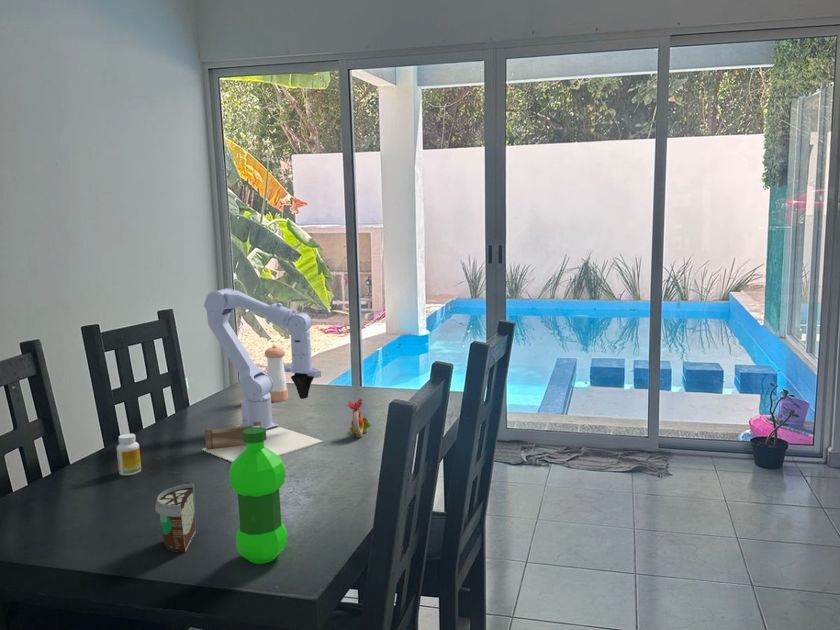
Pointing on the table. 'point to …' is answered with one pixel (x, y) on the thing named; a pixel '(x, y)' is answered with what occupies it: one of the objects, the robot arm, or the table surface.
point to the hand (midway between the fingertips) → (303, 398)
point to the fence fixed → (226, 436)
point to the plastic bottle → (258, 499)
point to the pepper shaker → (277, 373)
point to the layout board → (271, 444)
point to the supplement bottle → (128, 455)
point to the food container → (177, 516)
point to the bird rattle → (358, 419)
